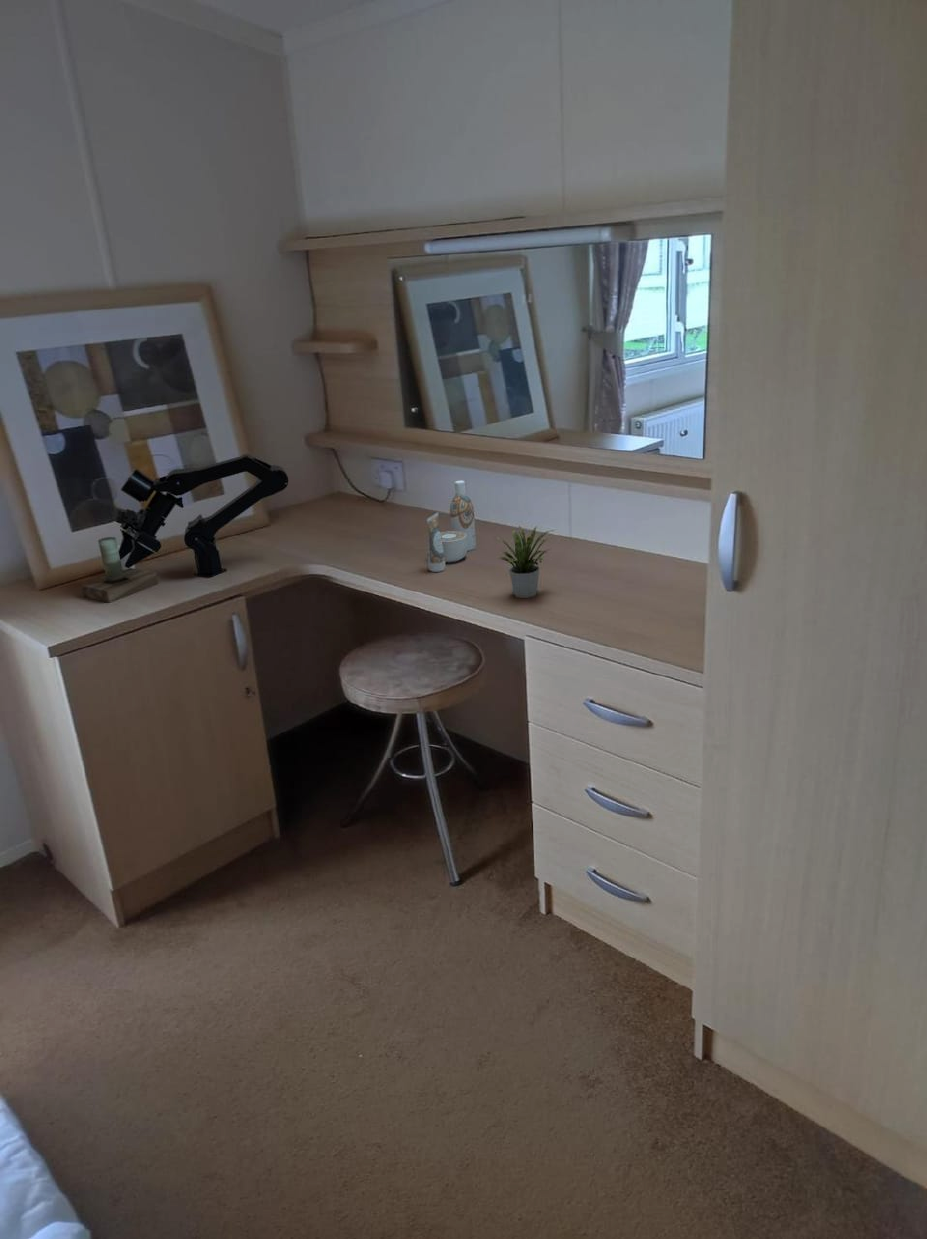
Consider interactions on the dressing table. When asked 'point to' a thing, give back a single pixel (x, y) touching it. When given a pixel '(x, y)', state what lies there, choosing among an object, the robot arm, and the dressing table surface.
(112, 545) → the peg
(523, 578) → the house plant
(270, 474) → the robot arm
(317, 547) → the dressing table surface
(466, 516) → the cosmetic set
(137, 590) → the board
